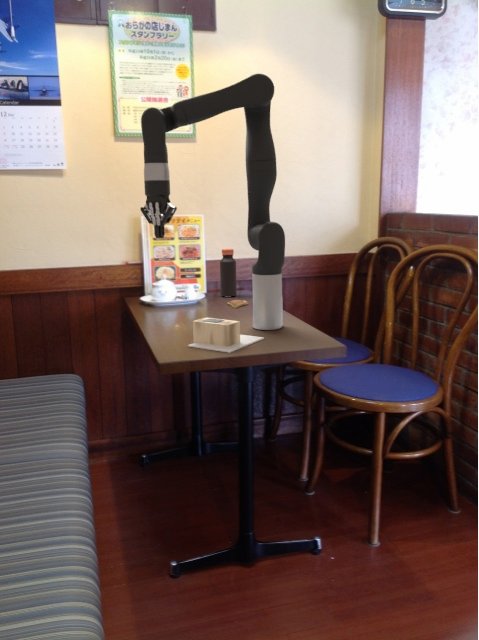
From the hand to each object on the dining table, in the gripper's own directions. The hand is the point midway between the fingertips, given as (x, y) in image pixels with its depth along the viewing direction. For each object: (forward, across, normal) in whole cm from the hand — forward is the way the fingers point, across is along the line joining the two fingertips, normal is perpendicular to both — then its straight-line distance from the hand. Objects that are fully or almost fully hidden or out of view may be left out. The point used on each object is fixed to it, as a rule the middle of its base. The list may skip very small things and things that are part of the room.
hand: (159, 238), depth 173 cm
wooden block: (+26, -18, +5) cm, 32 cm away
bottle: (+29, +20, -66) cm, 75 cm away
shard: (+30, +4, -50) cm, 58 cm away
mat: (+29, -26, +3) cm, 39 cm away
